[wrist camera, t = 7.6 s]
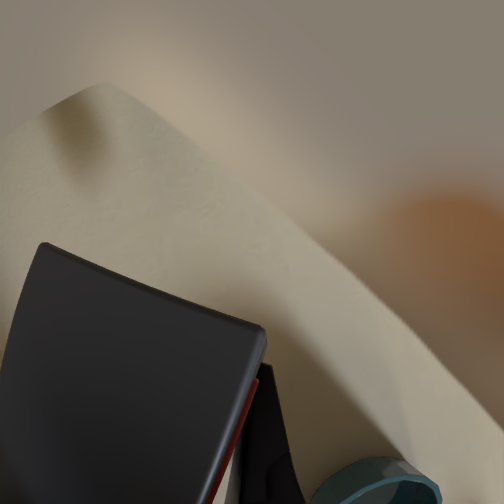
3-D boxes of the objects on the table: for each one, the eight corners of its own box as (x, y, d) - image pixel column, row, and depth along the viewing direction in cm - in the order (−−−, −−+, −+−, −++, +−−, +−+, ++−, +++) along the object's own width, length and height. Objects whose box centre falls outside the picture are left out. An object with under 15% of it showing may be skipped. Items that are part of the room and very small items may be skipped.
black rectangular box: (241, 423, 15) (163, 610, 2) (184, 402, 15) (-14, 496, 2) (269, 344, 16) (278, 330, 3) (211, 325, 17) (34, 236, 3)
